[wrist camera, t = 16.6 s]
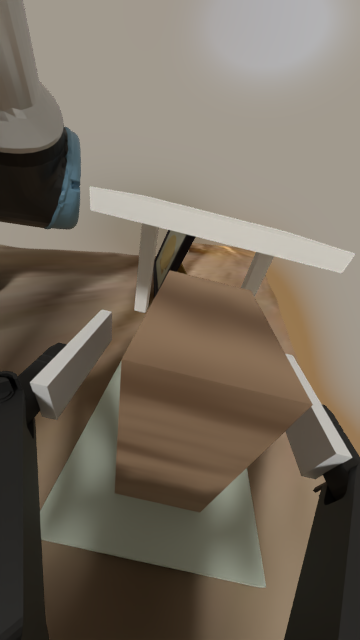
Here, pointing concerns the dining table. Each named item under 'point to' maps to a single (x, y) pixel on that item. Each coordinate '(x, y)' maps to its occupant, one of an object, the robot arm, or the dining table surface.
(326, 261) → the small white table
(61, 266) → the dining table surface
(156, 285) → the picture frame
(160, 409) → the walnut block
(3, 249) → the dining table surface
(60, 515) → the mat
